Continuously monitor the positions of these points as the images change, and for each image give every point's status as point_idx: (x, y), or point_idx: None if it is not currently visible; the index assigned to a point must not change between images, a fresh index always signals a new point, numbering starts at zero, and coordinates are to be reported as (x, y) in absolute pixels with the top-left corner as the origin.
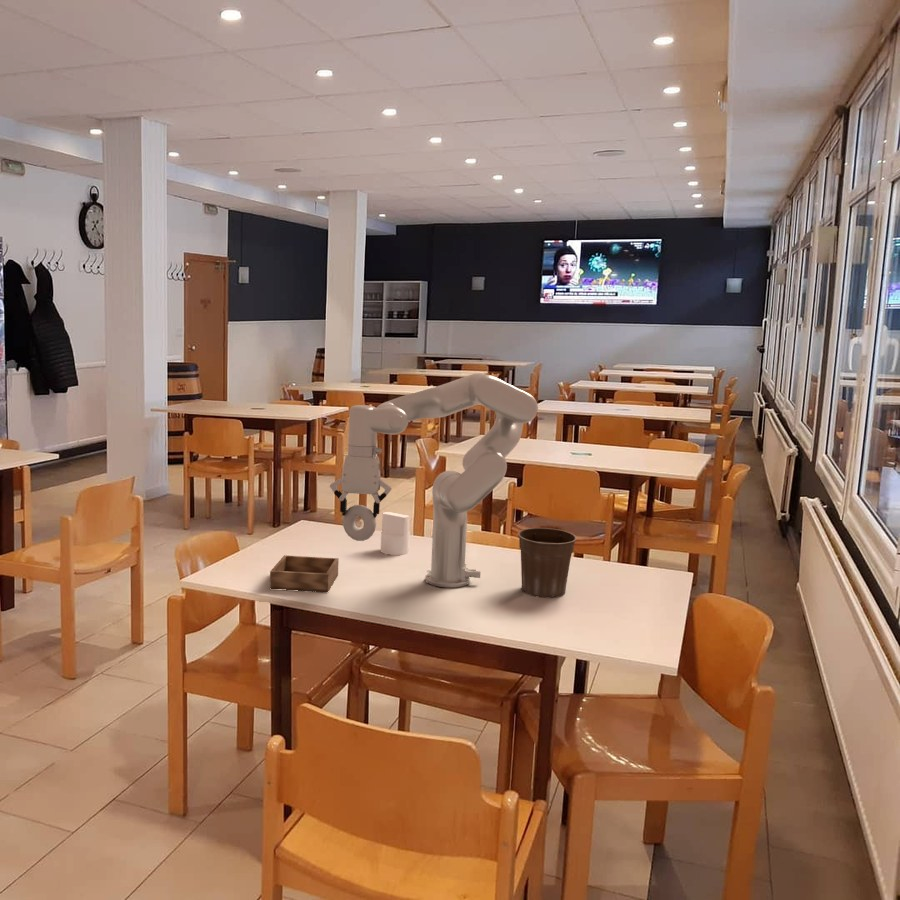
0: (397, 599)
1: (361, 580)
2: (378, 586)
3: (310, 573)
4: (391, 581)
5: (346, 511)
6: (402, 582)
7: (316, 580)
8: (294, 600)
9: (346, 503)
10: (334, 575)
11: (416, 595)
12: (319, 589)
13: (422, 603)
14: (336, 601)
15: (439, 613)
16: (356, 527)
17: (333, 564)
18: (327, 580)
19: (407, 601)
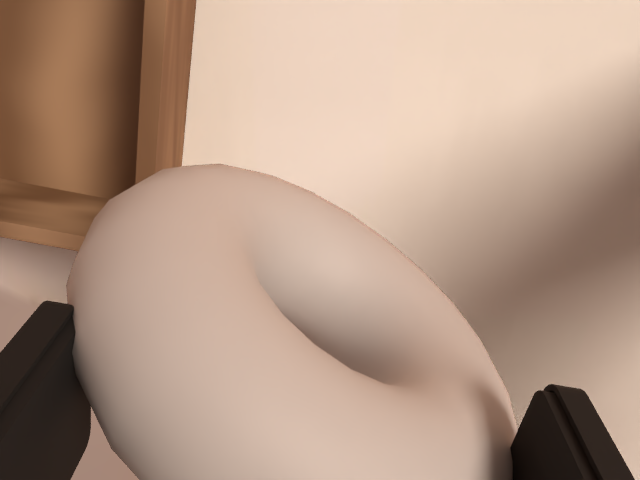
0: (505, 311)
1: (359, 2)
2: (447, 122)
3: (42, 242)
4: (545, 26)
5: (83, 386)
6: (608, 48)
7: None
8: None
9: (6, 473)
10: (183, 39)
11: (614, 264)
12: None
13: (604, 360)
14: None
15: (633, 455)
16: (282, 288)
17: (154, 49)
18: None
19: (544, 336)
